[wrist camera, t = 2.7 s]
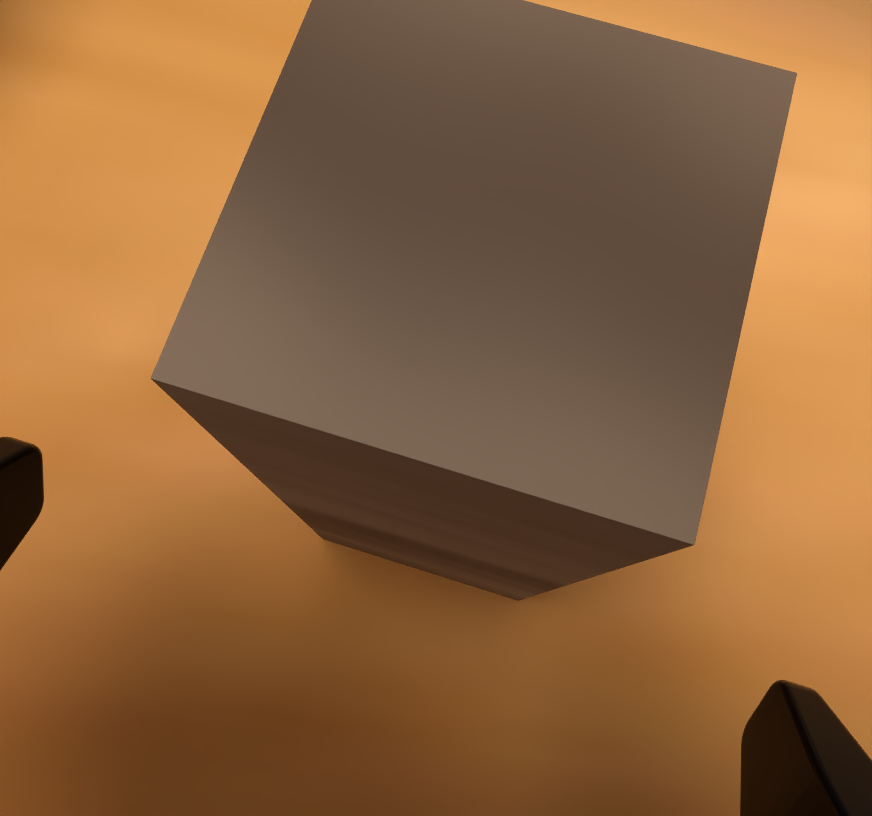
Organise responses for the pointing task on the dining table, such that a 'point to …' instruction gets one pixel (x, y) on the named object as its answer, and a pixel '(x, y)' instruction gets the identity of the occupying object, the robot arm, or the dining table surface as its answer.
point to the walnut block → (485, 285)
